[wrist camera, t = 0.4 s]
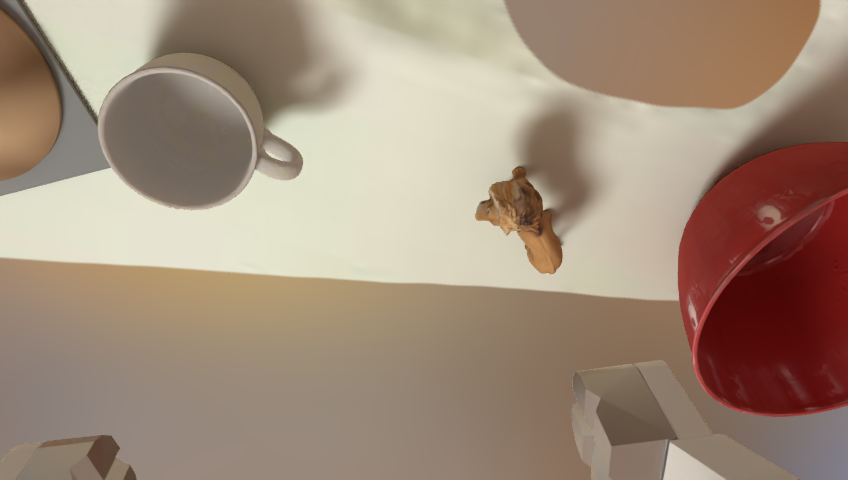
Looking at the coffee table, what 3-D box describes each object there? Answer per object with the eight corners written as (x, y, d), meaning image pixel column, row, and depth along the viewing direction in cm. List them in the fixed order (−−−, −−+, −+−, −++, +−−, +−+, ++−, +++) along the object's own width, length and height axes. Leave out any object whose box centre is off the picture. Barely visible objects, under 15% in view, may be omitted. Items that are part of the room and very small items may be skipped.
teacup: (116, 125, 45) (76, 172, 39) (158, 7, 40) (121, 38, 34) (274, 196, 51) (262, 247, 44) (327, 100, 46) (323, 141, 39)
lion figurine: (455, 172, 51) (472, 226, 44) (502, 138, 50) (527, 188, 42) (536, 261, 59) (562, 320, 51) (578, 233, 57) (611, 290, 50)
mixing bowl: (570, 262, 59) (628, 372, 47) (782, 24, 46) (941, 90, 34) (736, 337, 70) (819, 444, 57) (946, 161, 57) (1114, 250, 44)
